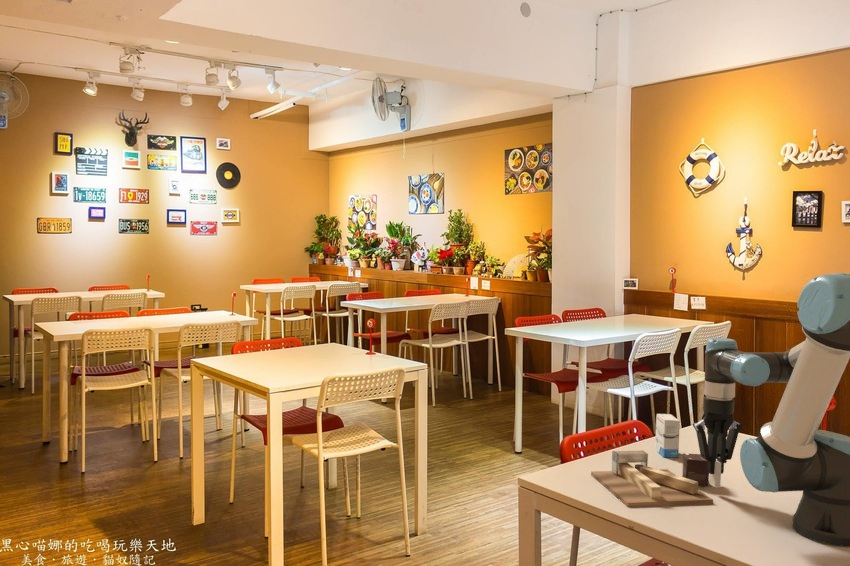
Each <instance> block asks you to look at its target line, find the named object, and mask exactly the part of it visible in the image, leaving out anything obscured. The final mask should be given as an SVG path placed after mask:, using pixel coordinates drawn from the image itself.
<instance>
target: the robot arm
mask: <svg viewBox="0 0 850 566" xmlns="http://www.w3.org/2000/svg"><path fill="white" fill-rule="evenodd" d="M798 296H799V297H798V299H797V306H796V307H797V308H798V309H799V310H798V311H797V317H798V320H799V323H800V324H801V331H802V333H804V336H805V340H803V341H802V342H800V343H799V344H797V345H795V346H793V347H792V348H790V349H788V350H787V351H780V352H779V351H774V352H773V351H771V352H767V351H766V352H755V351H752V352H751V351H749V352H747V351H746V352H745V351H742V350H739V349H738V348H739V347H738V343H737V340H736V339H732V338H727V337H711V338H709V339H707V340H706V346H705V351H704V355H705V357H704V384H703V385H704V386H703V395H705V396H704V397H703V400H702V401H703V402H702V405H703V406H702V410H703V411H702V412H703V413H702V414H703V415H702V416H701V420H699V421H698V422H693V424H692V427H693V428H694V430H695V431H696V438H697V443H698V448H699V449H698V450H699V452H700V453H699V454H701V457H702V458H704V459H705V460H707V461H708V469H707V471H708V473H709V484H708V485H711V486H712V487H713V488H721V479H722V474H724V472H725V471H724V470H725V469H724V468H725V464H727V462H728V460H729V461H730V460H732V458H733V453H734V452H735V451H734V450H735V448H736V444H737V440H738V436H739V433H740V432H741V430H742V428H743V424H741V423H739V422H737V421H736V420H735V417H734V412H735V399H734V398H736V382H737V383H739V384H742V385H743V386H750V387H758V386H760V385H762V384H767V383H769V384H770V383H771V384H772V383H777V384H778V383H782V384H783V383H784V384H785V383H787V384H786V386H785V389H784V392H783V394H782V397H781V399H780V401H779V404H778V407H777V409H776V412H775V414H774V416H773V418H772V421H769V422H766V423H764V424H763V425H762V426H761V427H760V431H759V433H758V436H757V437H756V438H752V437H750V438H749V439H748V438H747V439H745V440H744V441H743V442H742V444H741V445H740V452H739V458H740V459H739V460H740V465H741V468H742V471H743V474H744V477H745V478H746V480H747V482H748V483H749V485H751V486H752V487H753V488H754V489H755V490H757V491H759V492H765V493H767V492H769V493H770V492H771V493H783V492H784V493H785V492H802V494H801V495H802V496H801V498H800V501H799V503H798V506H797V508H796V510H795V513H794V514H793V515H792V528H793V530H794V531H795V532H796V533H797V534H799V535H801V536H803V537H805V538H807V539H809V540H813V541H815V542H818V543H822V544H825V545H832V546H836V547H837V546H838V547H845V548H846V547H848V548H849V547H850V436H848V435H845V434H841V433H837V432H833V431H829V430H824V429H823V430H822V429H820V428H819V427H820V425H821V423H822V421H823V418H824V416H825V414H826V411H827V410H828V408H829V405H830V403H831V400H832V399H833V396H834V394H835V391H836V390H837V387H838V385H839V383H840V381H841V378H842V375H844V374H843V373H844V372H845V370H846V368H847V365H848V363H849V361H850V274H849V273H843V272H837V273H832V274H831V273H828V274H822V275H821V274H820V275H818V276H815V277H814V278H812V279H811V280H809V281H807V283H806V284H805V285H804V287H803V288H802V290H801V291H800V294H799V295H798ZM706 433H707V434H706Z"/></svg>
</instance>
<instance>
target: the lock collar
mask: <svg viewBox="0 0 850 566" xmlns="http://www.w3.org/2000/svg"><path fill="white" fill-rule="evenodd" d="M611 454H612V455H611V471H612V472H613V473H615V474H616V475H618V464H619V463H629V464H630V463H631V464H632V463H640V465H643V466H648V463H649V461H648V459H649V453H647V452H646V451H644V450H616V451H615V450H614V451H612V453H611Z"/></svg>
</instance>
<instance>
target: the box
mask: <svg viewBox="0 0 850 566" xmlns="http://www.w3.org/2000/svg"><path fill="white" fill-rule="evenodd" d="M707 469H708V461H707V460H705V459H704V458H702V457H701V454H700V453H699V454H698V453H682V476H681V477H684V478H687V479H690V480H694V481H697V482H698V487H709V485H710V484H709V482H710V473H708V471H707Z"/></svg>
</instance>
